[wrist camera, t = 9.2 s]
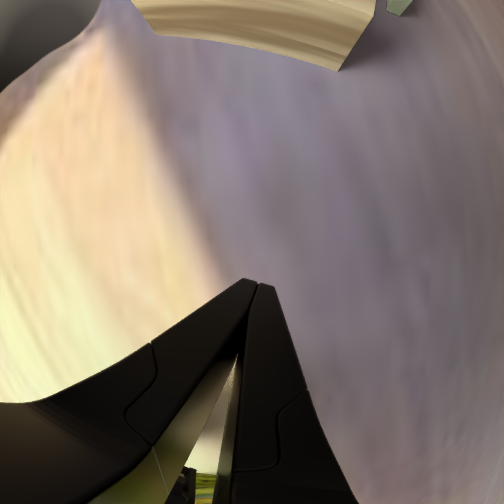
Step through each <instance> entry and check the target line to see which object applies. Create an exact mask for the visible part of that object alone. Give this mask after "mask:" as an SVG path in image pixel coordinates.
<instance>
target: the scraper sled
mask: <svg viewBox="0 0 504 504" xmlns="http://www.w3.org/2000/svg"><path fill="white" fill-rule="evenodd" d="M131 1H132V2H133V3H134V5H135V6H136V7H137V9H138V10H139V11H140V13H141V14H142V15H143V16H144V18H145V19H146V20H147V22H148V23H149V24H150V26H151V27H152V28H153V30H154V31H155V33H156V34H157V35H167V36H178V37H188V38H196V39H204V40H211V41H218V42H224V43H230V44H235V45H241V46H246V47H251V48H255V49H260V50H264V51H269V52H273V53H277V54H281V55H285V56H289V57H292V58H296V59H299V60H303V61H306V62H310V63H313V64H316V65H319V66H323V67H326V68H329V69H332V70H335V71H338V70H339V68H340V67H341V65H342V63H343V62H344V60H345V59H346V57H347V56H348V54H349V53H350V51H351V50H352V48H353V46H354V45H355V43H356V42H357V40H358V39H359V37H360V36H361V34H362V33H363V31H364V30H365V28H366V27H367V25H368V24H369V22H370V21H371V19H372V18H373V15H374V9H375V4H376V0H131Z"/></svg>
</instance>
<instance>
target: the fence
mask: <svg viewBox="0 0 504 504" xmlns="http://www.w3.org/2000/svg"><path fill="white" fill-rule="evenodd" d="M412 1H413V0H387V9H386V11H388V12H391V13H393V14H395V15H397V16H400V15H401V14H402V13H403V11H404V10H405V9H406V8H407V7H408V5H409V4H410V3H411V2H412Z"/></svg>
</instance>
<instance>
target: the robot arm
mask: <svg viewBox="0 0 504 504" xmlns="http://www.w3.org/2000/svg"><path fill="white" fill-rule="evenodd" d="M237 355H238V356H237ZM236 358H237V360H236ZM235 361H236V364H235V369H234V375H233V381H232V387H231V393H230V399H229V405H228V411H227V417H226V422H225V428H224V434H223V440H222V446H221V452H220V458H219V464H218V470H217V475H216V481H215V487H214V493H213V499H212V504H359V503H358V501H357V500H356V498H355V496H354V494H353V492H352V491H351V489H350V486H349V484H348V482H347V480H346V478H345V476H344V474H343V472H342V470H341V468H340V466H339V464H338V462H337V460H336V458H335V456H334V454H333V451H332V449H331V447H330V445H329V443H328V441H327V438H326V436H325V434H324V432H323V429H322V427H321V425H320V422H319V419H318V417H317V414H316V411H315V408H314V406H313V403H312V400H311V396H310V393H309V391H308V390H307V384H306V381H305V378H304V375H303V372H302V369H301V366H300V363H299V360H298V357H297V354H296V350H295V347H294V344H293V341H292V338H291V335H290V332H289V329H288V326H287V323H286V320H285V317H284V314H283V311H282V308H281V305H280V302H279V299H278V296H277V293H276V290H275V287H274V286H271V285H267V284H264V283H259V284H258V283H257V282H256V281H253V280H249V279H246V278H242V279H240V280H239V281H237V282H236V283H235V284H233V285H232V286H230V287H229V288H227V289H226V290H224V291H223V292H222V293H220V294H219V295H217V296H216V297H214V298H213V299H211V300H210V301H209V302H207V303H206V304H204V305H203V306H201V307H200V308H198V309H197V310H196V311H194V312H193V313H191V314H190V315H188V316H187V317H185V318H184V319H182V320H181V321H180V322H178V323H177V324H175V325H174V326H172V327H171V328H169V329H168V330H166V331H165V332H163V333H162V334H161V335H159V336H158V337H156V338H155V339H153V340H152V341H151V344H150V343H147V344H145V345H144V346H143V347H141V348H140V349H138V350H137V351H135V352H133V353H132V354H130V355H129V356H127V357H125V358H124V359H122V360H121V361H119V362H117V363H115V364H114V365H112V366H110V367H108V368H106V369H104V370H102V371H101V372H99V373H97V374H95V375H93V376H91V377H89V378H87V379H84V380H82V381H80V382H78V383H76V384H74V385H72V386H70V387H68V388H66V389H64V390H62V391H60V392H58V393H55V394H53V395H51V396H49V397H46V398H43V399H40V400H37V401H32V402H25V403H4V402H0V504H195V493H196V469H193V468H191V467H190V468H188V467H185V466H184V465H185V463H186V461H187V459H188V457H189V455H190V453H191V451H192V449H193V447H194V445H195V443H196V441H197V439H198V437H199V435H200V433H201V431H202V429H203V427H204V425H205V423H206V421H207V419H208V417H209V415H210V413H211V411H212V409H213V407H214V405H215V403H216V401H217V399H218V397H219V395H220V393H221V391H222V389H223V387H224V385H225V382H226V380H227V378H228V376H229V374H230V372H231V370H232V368H233V365H234V363H235Z"/></svg>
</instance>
